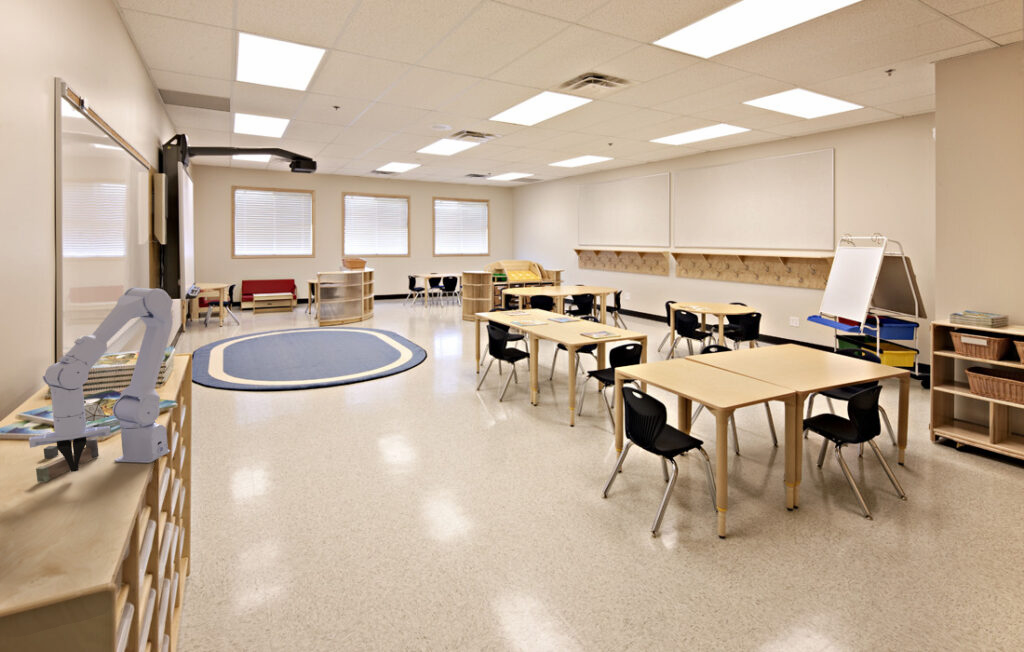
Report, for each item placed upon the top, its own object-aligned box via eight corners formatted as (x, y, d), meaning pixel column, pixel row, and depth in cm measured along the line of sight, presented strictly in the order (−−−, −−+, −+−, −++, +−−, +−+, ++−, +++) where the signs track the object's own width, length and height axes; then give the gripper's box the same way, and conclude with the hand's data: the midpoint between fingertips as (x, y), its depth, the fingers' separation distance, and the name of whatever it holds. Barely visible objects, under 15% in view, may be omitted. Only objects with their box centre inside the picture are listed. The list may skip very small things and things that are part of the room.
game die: (86, 439, 163) (76, 410, 165) (117, 426, 166) (107, 397, 168) (69, 434, 155) (59, 403, 157) (102, 420, 158) (92, 390, 160)
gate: (92, 455, 141) (90, 438, 140) (101, 455, 141) (99, 438, 140) (36, 481, 125) (33, 462, 124) (46, 482, 125) (44, 462, 124)
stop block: (58, 455, 141) (57, 445, 141) (53, 457, 139) (52, 448, 139) (50, 455, 141) (49, 446, 141) (44, 458, 139) (43, 448, 139)
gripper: (108, 404, 133) (112, 458, 135) (29, 414, 124) (35, 471, 126) (108, 412, 127) (113, 467, 129) (26, 423, 118) (32, 482, 120)
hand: (74, 470), depth 127 cm, fingers closed
